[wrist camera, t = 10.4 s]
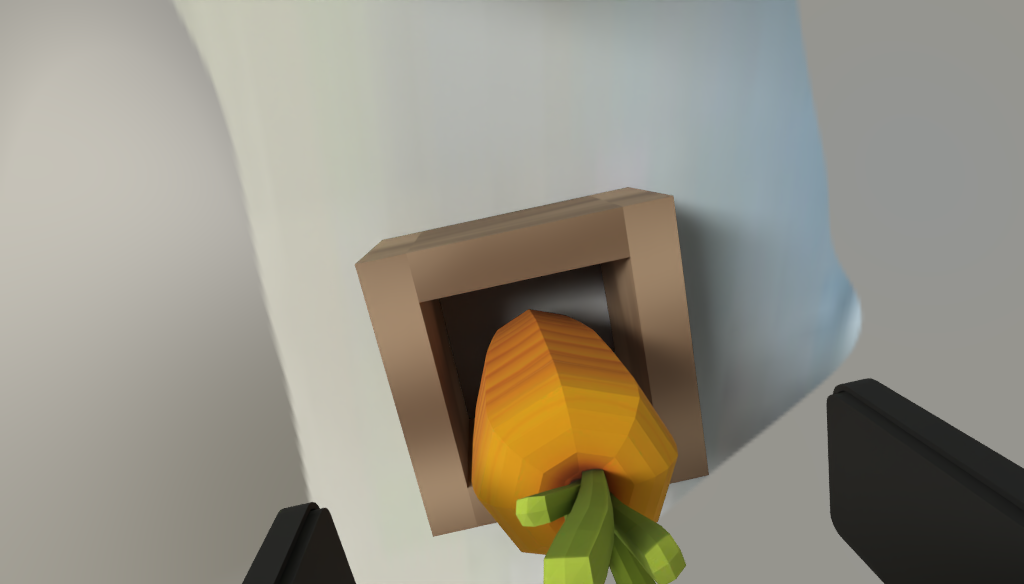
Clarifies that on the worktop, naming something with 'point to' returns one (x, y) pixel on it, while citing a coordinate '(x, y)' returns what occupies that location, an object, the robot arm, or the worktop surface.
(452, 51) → the worktop surface
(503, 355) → the carrot
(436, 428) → the holder
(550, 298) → the worktop surface
